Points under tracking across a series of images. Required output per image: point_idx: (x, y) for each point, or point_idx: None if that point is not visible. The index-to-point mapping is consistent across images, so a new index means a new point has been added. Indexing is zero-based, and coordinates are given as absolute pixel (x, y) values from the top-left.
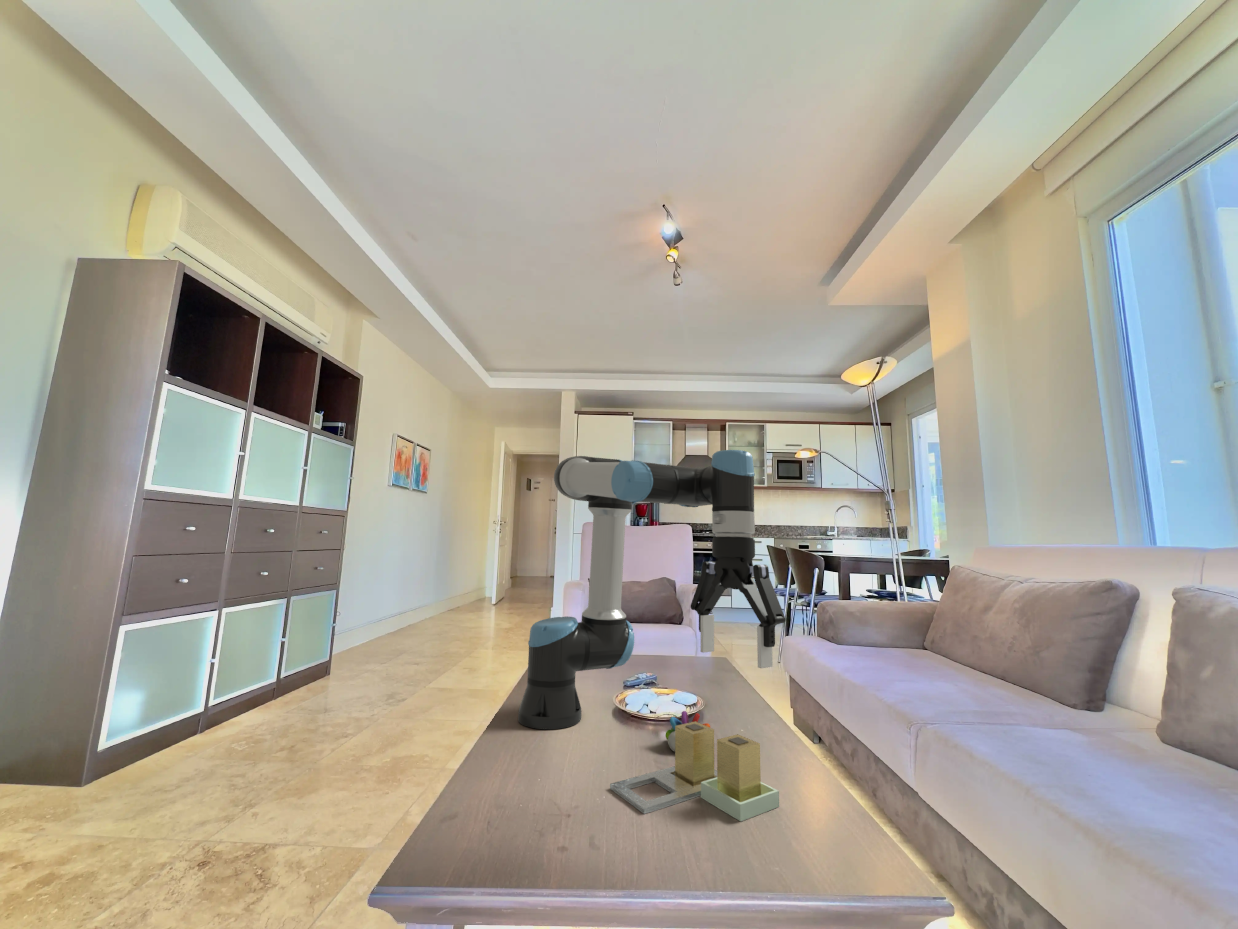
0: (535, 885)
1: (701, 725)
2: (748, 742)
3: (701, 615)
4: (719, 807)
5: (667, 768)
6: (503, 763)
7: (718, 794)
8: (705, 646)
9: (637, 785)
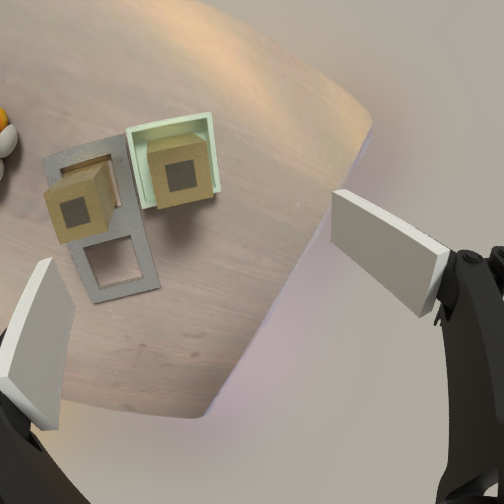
0: (230, 369)
1: (67, 193)
2: (192, 159)
3: (40, 428)
4: None
5: None
6: None
7: None
8: (67, 312)
9: (92, 270)
